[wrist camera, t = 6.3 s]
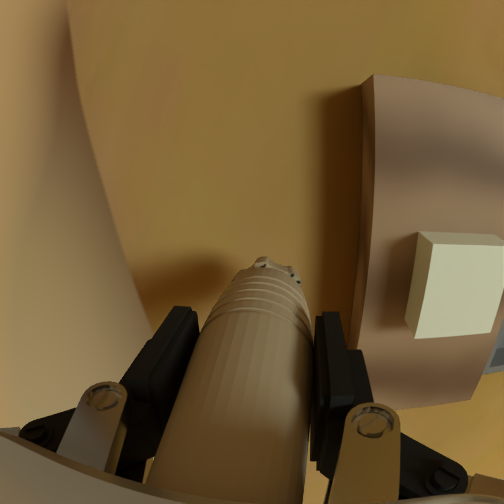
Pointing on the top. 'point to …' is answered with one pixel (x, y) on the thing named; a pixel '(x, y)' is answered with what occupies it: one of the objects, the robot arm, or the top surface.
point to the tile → (455, 284)
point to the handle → (245, 396)
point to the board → (422, 228)
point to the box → (496, 354)
